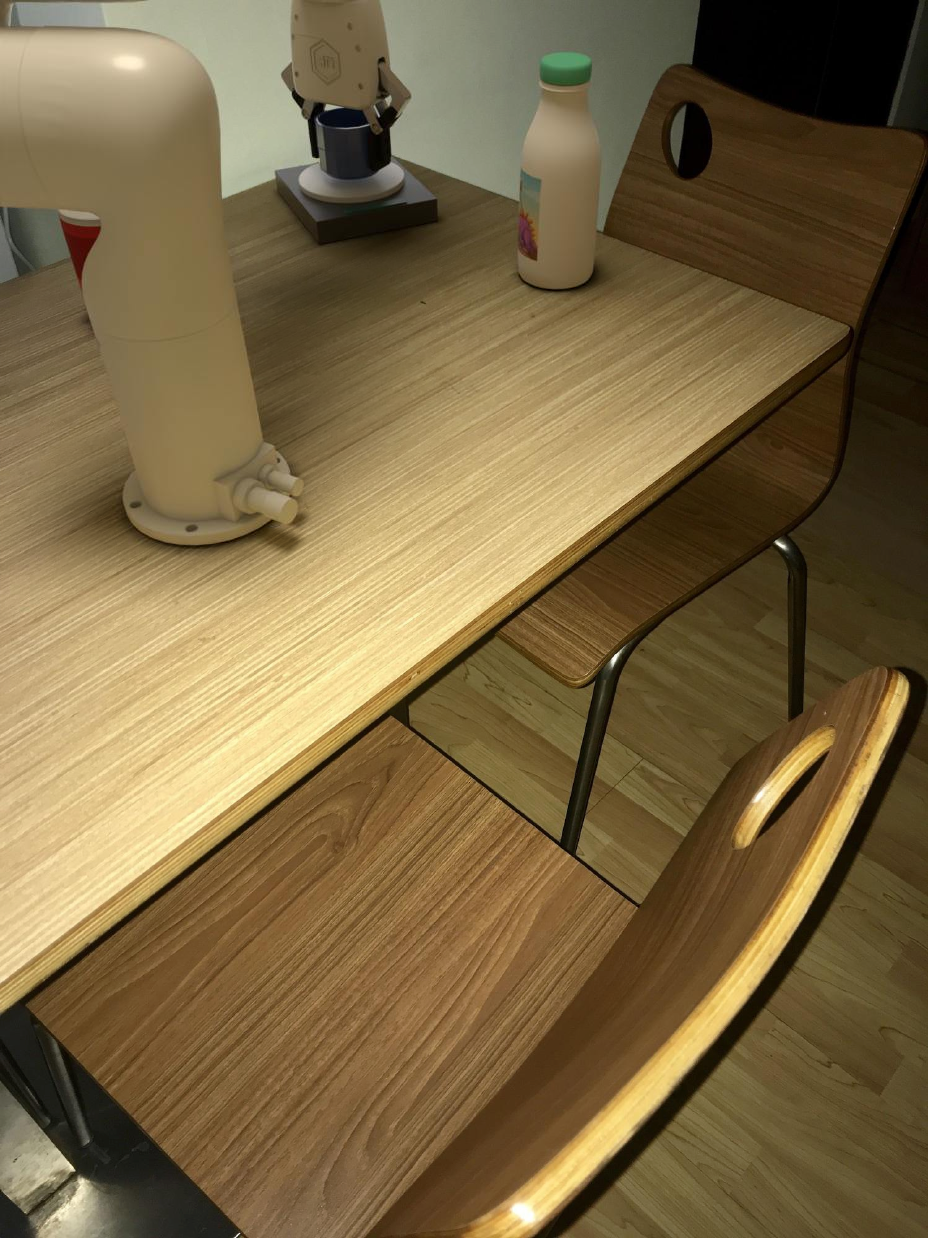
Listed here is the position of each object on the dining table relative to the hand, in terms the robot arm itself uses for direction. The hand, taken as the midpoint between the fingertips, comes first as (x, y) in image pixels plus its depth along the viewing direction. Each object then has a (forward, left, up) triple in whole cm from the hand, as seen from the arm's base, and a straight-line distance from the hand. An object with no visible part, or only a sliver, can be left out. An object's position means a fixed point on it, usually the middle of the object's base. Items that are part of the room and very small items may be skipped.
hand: (351, 159), depth 111 cm
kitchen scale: (0, 0, -5) cm, 5 cm away
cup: (0, 0, -1) cm, 1 cm away
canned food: (+4, +32, -5) cm, 33 cm away
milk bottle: (-28, +4, -5) cm, 29 cm away
